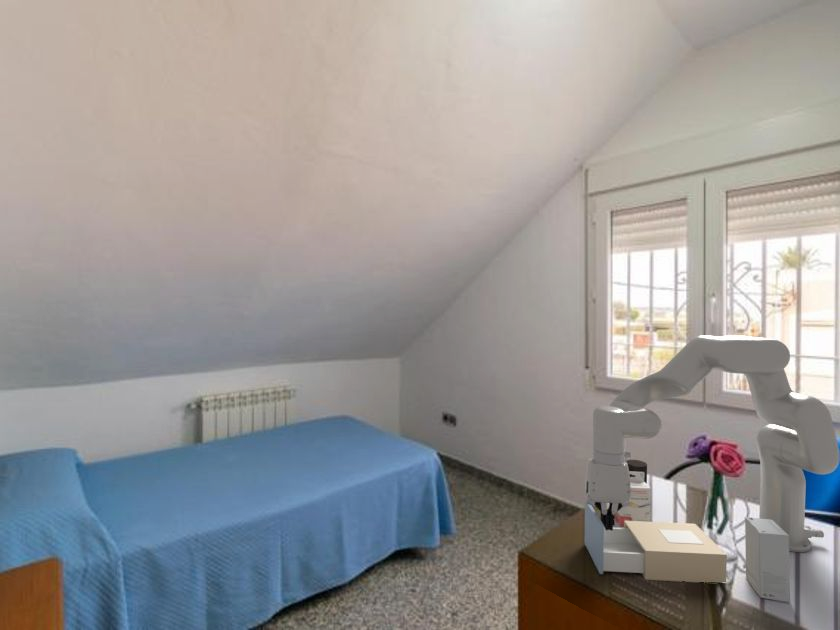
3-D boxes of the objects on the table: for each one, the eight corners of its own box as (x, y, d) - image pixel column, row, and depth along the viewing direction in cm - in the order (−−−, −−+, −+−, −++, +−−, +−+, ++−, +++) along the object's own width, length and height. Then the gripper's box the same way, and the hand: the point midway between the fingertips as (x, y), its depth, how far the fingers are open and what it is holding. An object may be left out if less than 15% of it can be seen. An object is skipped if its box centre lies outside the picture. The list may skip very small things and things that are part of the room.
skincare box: (790, 604, 95) (792, 537, 95) (758, 598, 97) (759, 532, 96) (772, 580, 103) (774, 518, 103) (742, 575, 105) (744, 514, 104)
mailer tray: (652, 546, 116) (653, 502, 116) (676, 578, 103) (677, 528, 103) (584, 543, 118) (584, 499, 118) (599, 573, 105) (600, 525, 105)
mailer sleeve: (694, 549, 116) (694, 523, 115) (726, 583, 102) (726, 554, 102) (623, 546, 118) (624, 520, 117) (645, 579, 104) (645, 550, 103)
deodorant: (650, 514, 134) (650, 466, 134) (630, 514, 134) (631, 466, 134) (640, 505, 140) (641, 459, 140) (621, 505, 140) (622, 459, 140)
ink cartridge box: (620, 526, 128) (620, 476, 127) (614, 517, 133) (615, 470, 132) (650, 527, 127) (651, 477, 126) (643, 519, 132) (644, 471, 131)
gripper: (633, 452, 113) (632, 521, 114) (574, 450, 115) (573, 518, 115) (645, 463, 106) (644, 537, 106) (581, 460, 107) (581, 534, 108)
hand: (607, 527), depth 111 cm, fingers closed
